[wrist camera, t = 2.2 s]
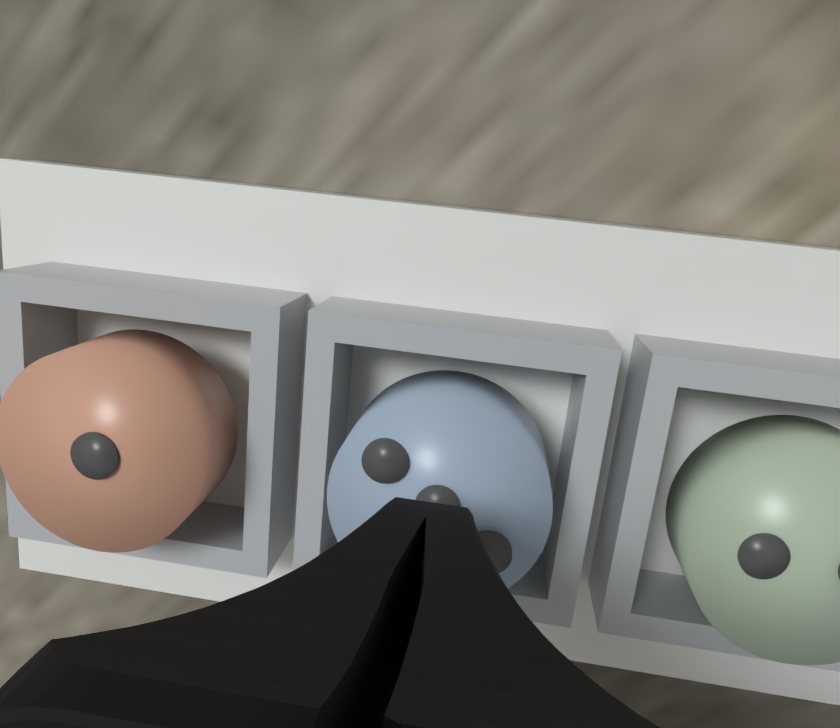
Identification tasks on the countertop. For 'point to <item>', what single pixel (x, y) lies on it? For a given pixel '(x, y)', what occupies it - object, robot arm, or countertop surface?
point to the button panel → (430, 351)
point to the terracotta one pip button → (116, 439)
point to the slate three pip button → (449, 463)
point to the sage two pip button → (764, 536)
